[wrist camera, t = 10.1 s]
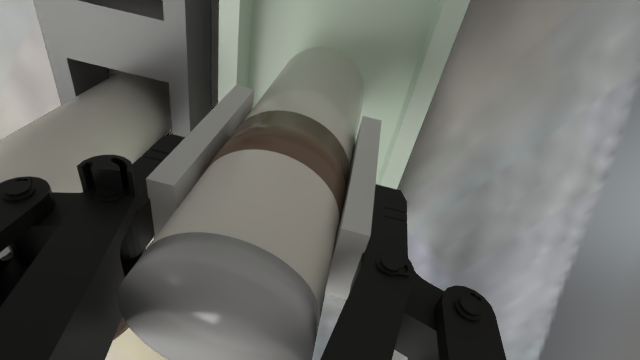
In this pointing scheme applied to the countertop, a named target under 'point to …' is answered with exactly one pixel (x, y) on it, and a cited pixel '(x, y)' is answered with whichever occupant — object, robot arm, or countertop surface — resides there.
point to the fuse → (89, 131)
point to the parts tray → (356, 43)
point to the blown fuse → (256, 227)
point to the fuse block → (132, 48)
